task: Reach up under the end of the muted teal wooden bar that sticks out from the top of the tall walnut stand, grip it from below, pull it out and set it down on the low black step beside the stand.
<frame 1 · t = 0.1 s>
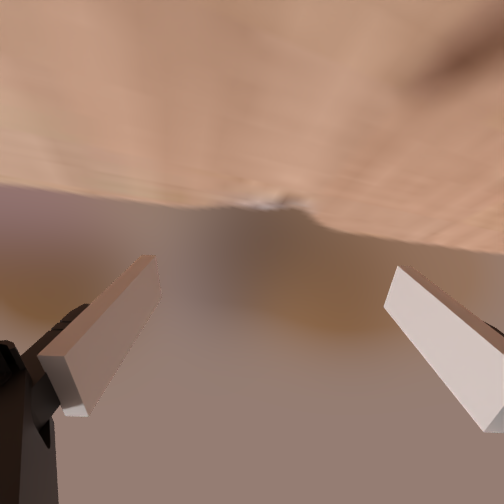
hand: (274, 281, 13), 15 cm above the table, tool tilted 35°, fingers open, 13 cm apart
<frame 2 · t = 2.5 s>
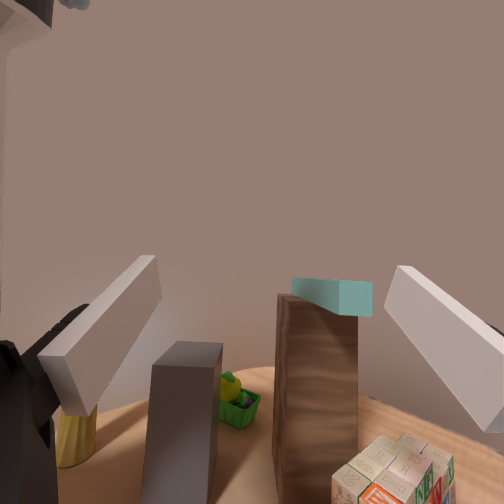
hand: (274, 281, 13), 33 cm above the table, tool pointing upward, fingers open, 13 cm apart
step: (184, 479, 38), on the table
vase: (74, 455, 42), on the table
fruit basket: (231, 419, 54), on the table
bar: (317, 301, 37), point 30 cm above the table, touching stand
stand: (306, 483, 38), on the table
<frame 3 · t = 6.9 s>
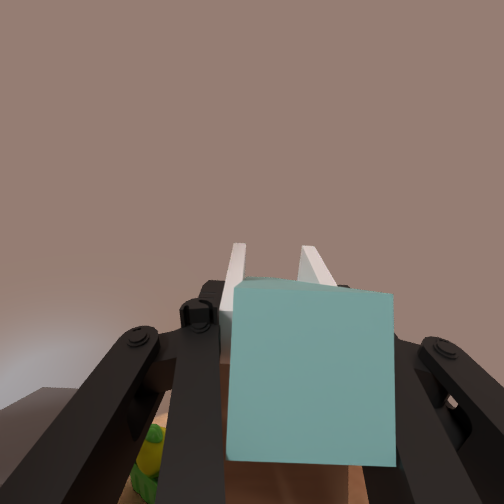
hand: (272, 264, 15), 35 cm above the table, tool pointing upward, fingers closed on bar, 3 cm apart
fruit basket: (160, 497, 35), on the table
bar: (266, 325, 18), point 30 cm above the table, touching gripper, stand
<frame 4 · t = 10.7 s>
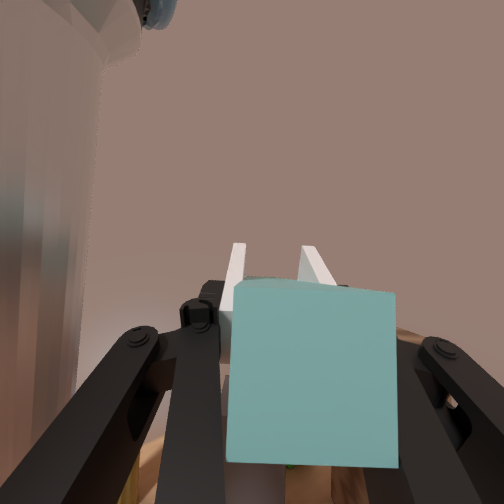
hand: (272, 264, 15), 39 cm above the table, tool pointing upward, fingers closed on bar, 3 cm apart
bar: (266, 325, 18), point 34 cm above the table, touching gripper
when the fingers open (26 cm above the table, at t = 14.5 s): bar drops 2 cm, resting on step.
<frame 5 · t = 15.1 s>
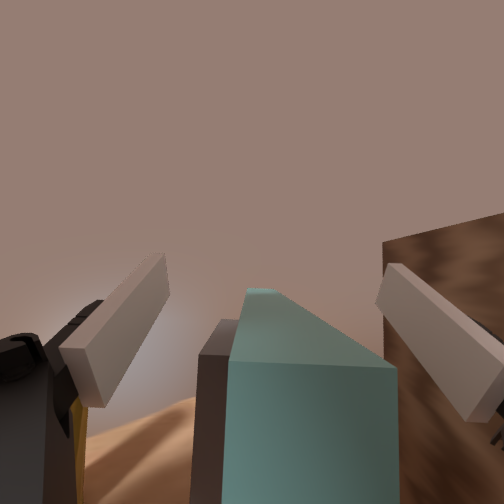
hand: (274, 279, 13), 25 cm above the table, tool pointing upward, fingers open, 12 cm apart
bar: (266, 346, 17), point 20 cm above the table, touching step
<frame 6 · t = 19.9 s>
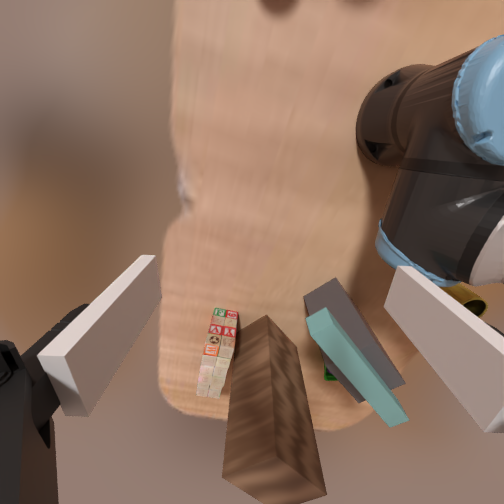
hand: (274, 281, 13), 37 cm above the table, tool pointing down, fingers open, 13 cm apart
step: (331, 303, 58), on the table
stack of blocks: (219, 339, 64), on the table
vase: (419, 270, 54), on the table
fruit basket: (340, 352, 65), on the table
bar: (356, 362, 39), point 20 cm above the table, touching step
stand: (267, 339, 63), on the table
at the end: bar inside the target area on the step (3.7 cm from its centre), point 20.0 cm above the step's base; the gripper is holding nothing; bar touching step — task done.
